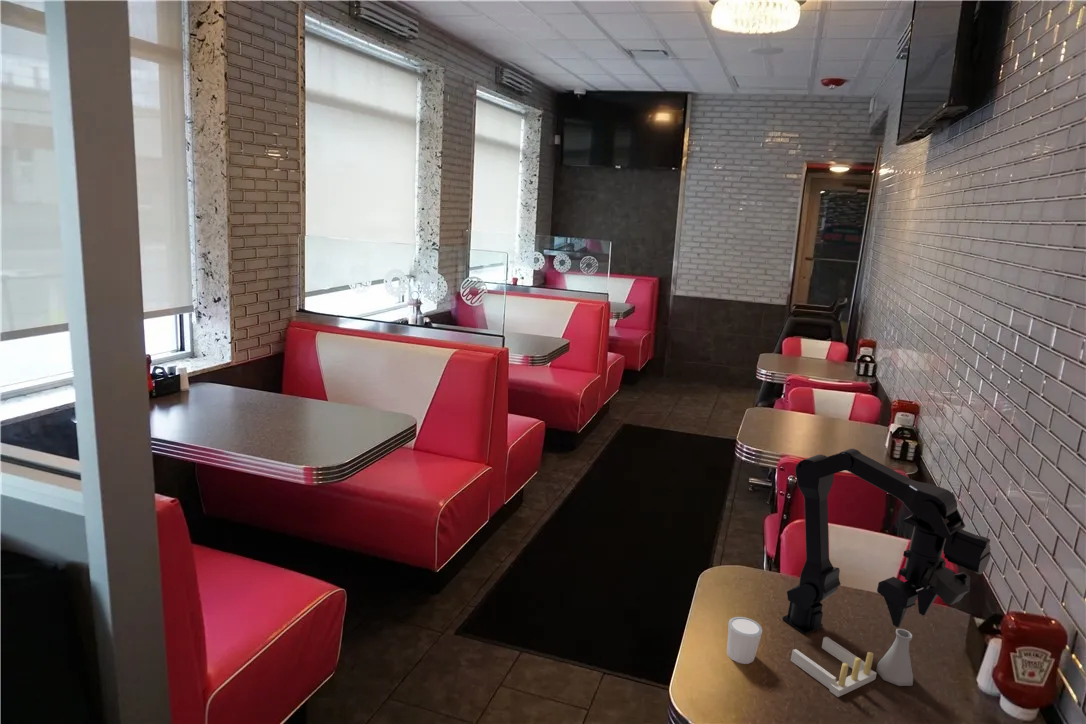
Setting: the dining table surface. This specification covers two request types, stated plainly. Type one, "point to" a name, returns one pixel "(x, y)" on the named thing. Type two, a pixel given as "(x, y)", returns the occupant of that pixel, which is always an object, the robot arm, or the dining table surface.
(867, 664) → the wall peg rack
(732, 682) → the dining table surface
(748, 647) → the white cup
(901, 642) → the flask
